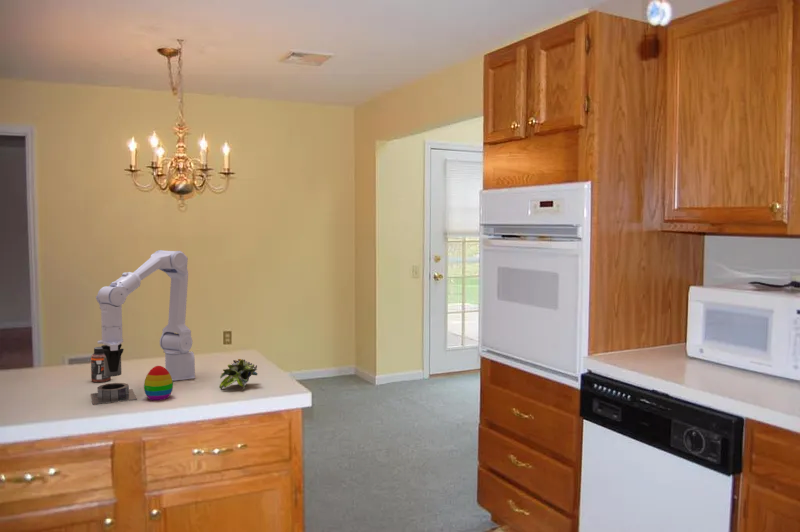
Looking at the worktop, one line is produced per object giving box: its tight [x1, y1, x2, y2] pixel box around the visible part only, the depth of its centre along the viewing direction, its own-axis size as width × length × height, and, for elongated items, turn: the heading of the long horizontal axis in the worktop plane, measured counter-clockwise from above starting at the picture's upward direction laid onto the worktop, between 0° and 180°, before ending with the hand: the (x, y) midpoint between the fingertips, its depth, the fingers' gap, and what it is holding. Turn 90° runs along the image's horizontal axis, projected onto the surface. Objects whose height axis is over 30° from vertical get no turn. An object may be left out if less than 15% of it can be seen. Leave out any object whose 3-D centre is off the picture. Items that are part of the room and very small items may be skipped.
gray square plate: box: [90, 382, 138, 406], centre depth 192 cm, size 12×12×3 cm
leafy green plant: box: [218, 358, 259, 391], centre depth 203 cm, size 11×11×12 cm
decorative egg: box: [143, 365, 174, 401], centre depth 191 cm, size 8×8×10 cm
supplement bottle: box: [90, 346, 112, 383], centre depth 211 cm, size 6×6×11 cm
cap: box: [104, 356, 122, 377], centre depth 192 cm, size 5×5×6 cm
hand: (112, 369), depth 192 cm, fingers closed on cap, 5 cm apart
